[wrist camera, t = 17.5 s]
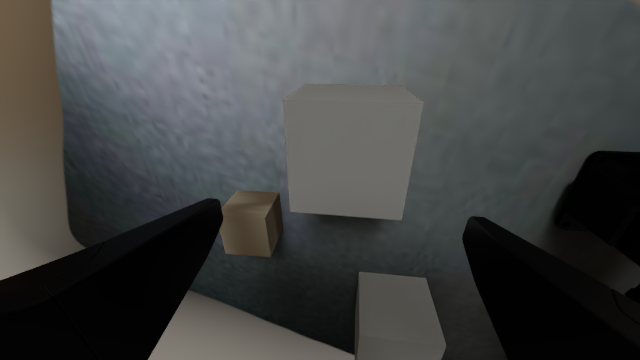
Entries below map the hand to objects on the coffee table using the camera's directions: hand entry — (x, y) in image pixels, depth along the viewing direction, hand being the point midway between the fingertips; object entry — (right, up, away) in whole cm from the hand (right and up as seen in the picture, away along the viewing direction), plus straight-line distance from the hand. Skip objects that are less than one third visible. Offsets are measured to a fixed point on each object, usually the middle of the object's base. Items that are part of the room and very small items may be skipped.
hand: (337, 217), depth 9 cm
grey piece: (+2, +5, +10) cm, 11 cm away
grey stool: (+7, -11, +18) cm, 22 cm away
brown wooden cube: (-6, -1, +15) cm, 16 cm away
